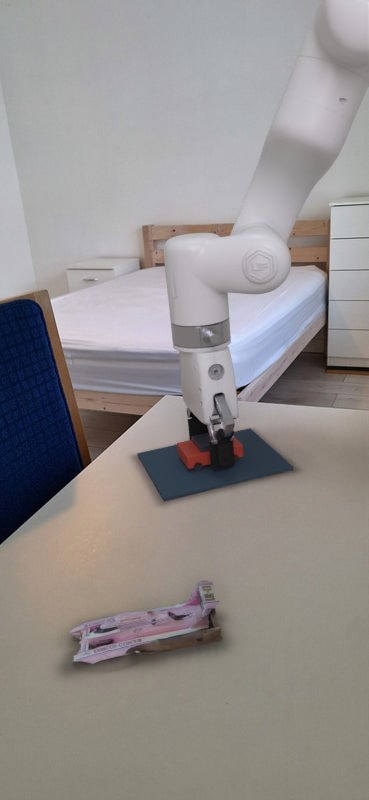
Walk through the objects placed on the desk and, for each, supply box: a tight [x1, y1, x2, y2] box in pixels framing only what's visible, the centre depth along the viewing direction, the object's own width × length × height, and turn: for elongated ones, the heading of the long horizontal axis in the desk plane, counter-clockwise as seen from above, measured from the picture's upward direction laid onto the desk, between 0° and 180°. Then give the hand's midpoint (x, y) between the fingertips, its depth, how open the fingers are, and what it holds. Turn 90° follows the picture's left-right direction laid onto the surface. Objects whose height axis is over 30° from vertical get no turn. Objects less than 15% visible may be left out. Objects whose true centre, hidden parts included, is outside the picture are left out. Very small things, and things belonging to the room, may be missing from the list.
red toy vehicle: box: [176, 430, 243, 471], centre depth 83 cm, size 8×3×5 cm
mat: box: [137, 427, 294, 502], centre depth 83 cm, size 18×14×1 cm
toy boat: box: [68, 580, 222, 665], centre depth 52 cm, size 13×6×4 cm, turn 98°
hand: (211, 454), depth 83 cm, fingers open, 8 cm apart
